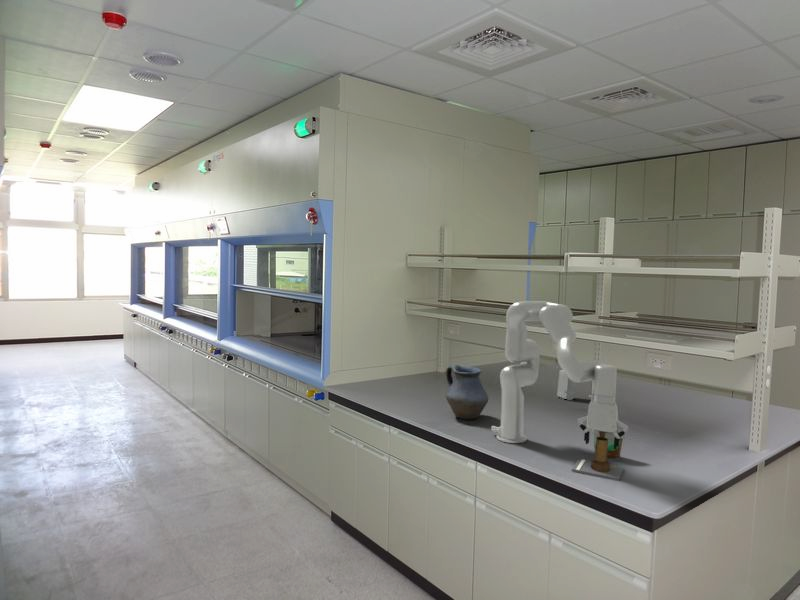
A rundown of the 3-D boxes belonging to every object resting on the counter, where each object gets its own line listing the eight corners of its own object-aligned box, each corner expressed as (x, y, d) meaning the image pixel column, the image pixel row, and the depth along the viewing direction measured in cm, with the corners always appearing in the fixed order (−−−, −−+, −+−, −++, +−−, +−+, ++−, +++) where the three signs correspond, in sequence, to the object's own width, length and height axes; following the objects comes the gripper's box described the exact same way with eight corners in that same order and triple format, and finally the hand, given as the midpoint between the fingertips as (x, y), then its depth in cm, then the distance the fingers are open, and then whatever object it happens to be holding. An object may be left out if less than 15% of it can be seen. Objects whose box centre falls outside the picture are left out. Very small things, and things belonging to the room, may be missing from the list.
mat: (571, 471, 194) (571, 468, 194) (578, 461, 205) (578, 458, 205) (619, 480, 186) (619, 477, 186) (623, 469, 197) (623, 467, 197)
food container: (587, 454, 212) (588, 429, 212) (591, 450, 217) (592, 426, 217) (620, 461, 205) (621, 436, 205) (623, 457, 210) (625, 432, 210)
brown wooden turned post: (609, 473, 191) (612, 423, 190) (590, 470, 193) (593, 420, 192) (610, 467, 197) (612, 418, 196) (591, 464, 199) (593, 416, 198)
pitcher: (476, 425, 248) (478, 372, 247) (434, 417, 260) (436, 366, 258) (493, 416, 265) (495, 365, 264) (454, 408, 277) (455, 360, 276)
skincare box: (556, 397, 308) (557, 370, 307) (566, 396, 311) (567, 369, 310) (566, 401, 300) (567, 372, 299) (576, 400, 303) (577, 372, 302)
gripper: (576, 397, 195) (574, 443, 196) (628, 405, 186) (625, 453, 187) (581, 393, 201) (578, 438, 202) (631, 400, 193) (628, 447, 194)
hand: (601, 445), depth 195 cm, fingers open, 9 cm apart
